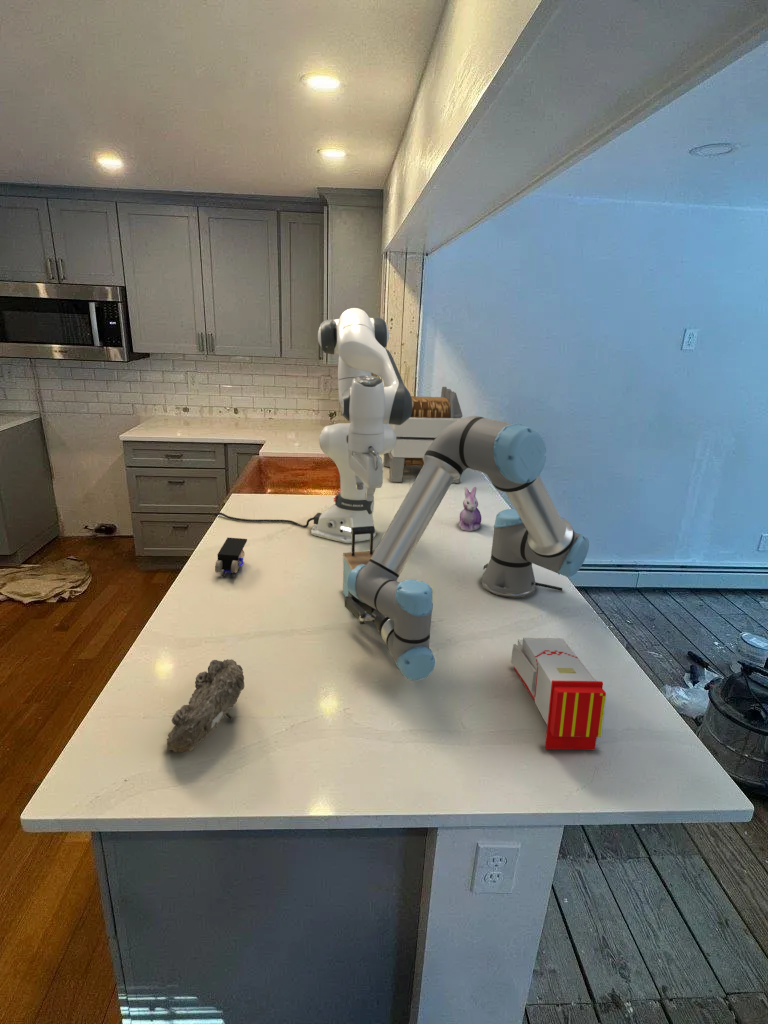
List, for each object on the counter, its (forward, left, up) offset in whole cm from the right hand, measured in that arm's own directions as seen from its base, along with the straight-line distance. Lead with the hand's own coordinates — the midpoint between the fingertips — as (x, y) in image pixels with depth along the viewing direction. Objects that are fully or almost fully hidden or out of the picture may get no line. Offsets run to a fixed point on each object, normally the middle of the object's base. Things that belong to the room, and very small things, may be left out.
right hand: (369, 584), depth 148 cm
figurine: (-52, -48, -7) cm, 72 cm away
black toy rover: (+33, -30, -7) cm, 45 cm away
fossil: (+40, +34, -7) cm, 53 cm away
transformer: (-59, -120, -7) cm, 134 cm away
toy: (-25, +46, -7) cm, 53 cm away
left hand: (0, -8, +22) cm, 23 cm away
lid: (0, -3, +4) cm, 5 cm away
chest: (0, -3, -7) cm, 7 cm away
